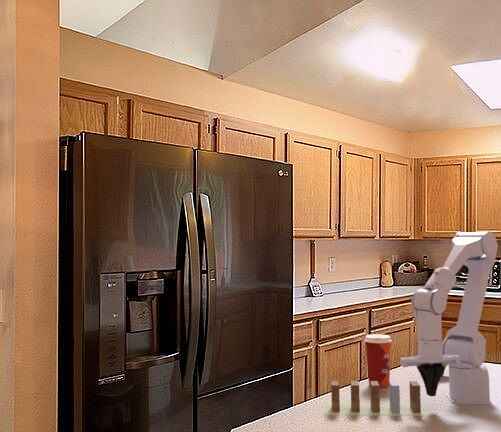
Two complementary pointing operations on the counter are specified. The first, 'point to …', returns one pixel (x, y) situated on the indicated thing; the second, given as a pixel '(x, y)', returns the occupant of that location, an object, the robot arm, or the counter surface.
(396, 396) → the tile
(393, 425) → the counter surface
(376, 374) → the paper cup
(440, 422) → the counter surface
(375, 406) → the tile
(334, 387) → the tile
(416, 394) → the tile
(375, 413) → the mat
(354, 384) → the tile
